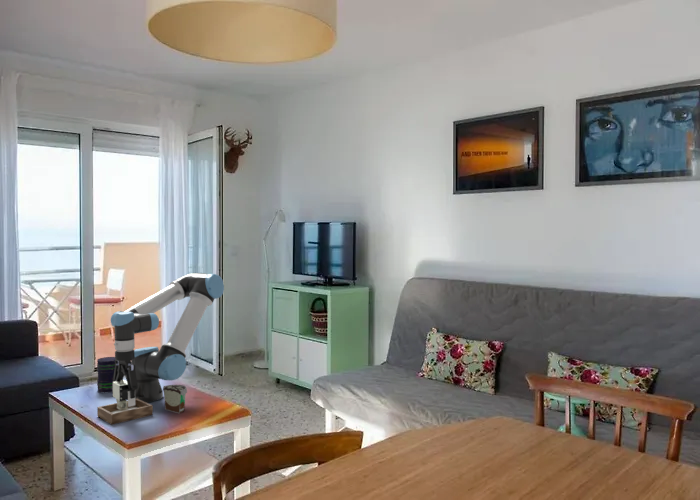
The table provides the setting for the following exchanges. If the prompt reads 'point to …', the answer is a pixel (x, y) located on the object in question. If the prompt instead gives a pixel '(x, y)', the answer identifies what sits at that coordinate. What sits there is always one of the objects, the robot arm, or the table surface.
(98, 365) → the storage jar
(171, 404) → the food container
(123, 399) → the pneumatic valve
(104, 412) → the walnut box
